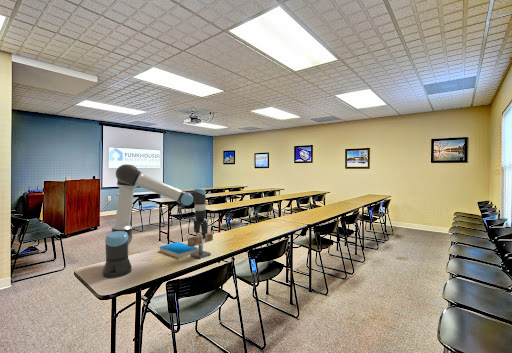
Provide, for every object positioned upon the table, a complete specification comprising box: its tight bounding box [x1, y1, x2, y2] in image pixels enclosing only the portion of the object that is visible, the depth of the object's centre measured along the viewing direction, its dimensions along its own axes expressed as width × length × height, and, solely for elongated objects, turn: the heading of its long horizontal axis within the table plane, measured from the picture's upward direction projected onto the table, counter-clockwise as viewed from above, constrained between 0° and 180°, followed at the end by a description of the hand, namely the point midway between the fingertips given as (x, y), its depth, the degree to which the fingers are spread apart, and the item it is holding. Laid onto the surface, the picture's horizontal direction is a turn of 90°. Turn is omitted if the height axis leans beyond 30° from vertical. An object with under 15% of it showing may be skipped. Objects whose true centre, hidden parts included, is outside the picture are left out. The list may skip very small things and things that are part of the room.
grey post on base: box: [190, 243, 212, 260], centre depth 178 cm, size 10×10×9 cm
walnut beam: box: [187, 232, 214, 247], centre depth 178 cm, size 20×4×5 cm, turn 144°
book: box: [159, 241, 199, 259], centre depth 187 cm, size 17×4×25 cm
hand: (200, 242), depth 178 cm, fingers closed on walnut beam, 4 cm apart
